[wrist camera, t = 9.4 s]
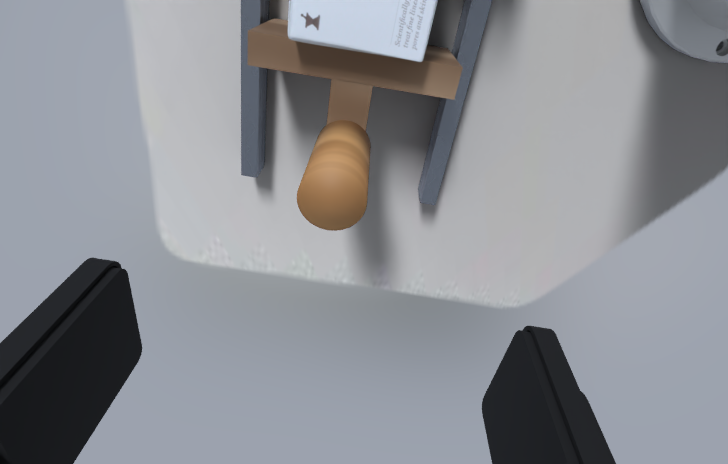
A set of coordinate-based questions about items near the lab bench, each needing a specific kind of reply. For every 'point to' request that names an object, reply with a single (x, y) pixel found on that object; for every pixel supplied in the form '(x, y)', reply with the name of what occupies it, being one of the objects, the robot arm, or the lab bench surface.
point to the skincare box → (364, 25)
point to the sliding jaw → (346, 112)
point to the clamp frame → (446, 118)
